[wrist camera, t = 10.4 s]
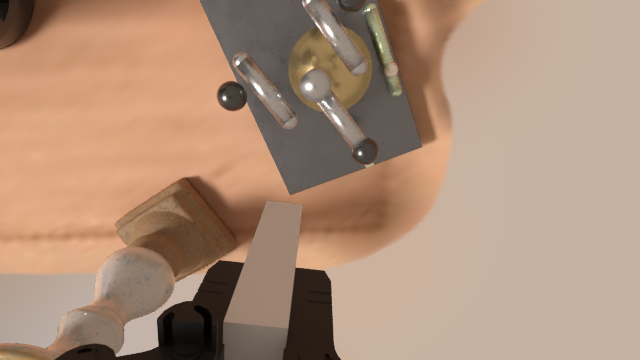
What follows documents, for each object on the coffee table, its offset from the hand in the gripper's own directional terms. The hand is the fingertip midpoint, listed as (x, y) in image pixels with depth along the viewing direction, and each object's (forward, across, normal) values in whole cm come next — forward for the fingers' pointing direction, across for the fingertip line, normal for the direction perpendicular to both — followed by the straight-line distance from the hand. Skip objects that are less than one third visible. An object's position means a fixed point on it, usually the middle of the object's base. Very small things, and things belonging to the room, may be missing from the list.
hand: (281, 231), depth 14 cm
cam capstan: (+23, +2, +4) cm, 24 cm away
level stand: (+26, +1, +4) cm, 26 cm away
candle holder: (+26, -15, -17) cm, 34 cm away
